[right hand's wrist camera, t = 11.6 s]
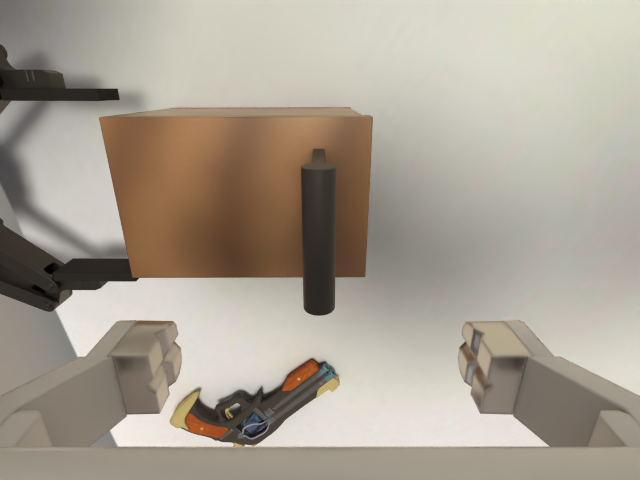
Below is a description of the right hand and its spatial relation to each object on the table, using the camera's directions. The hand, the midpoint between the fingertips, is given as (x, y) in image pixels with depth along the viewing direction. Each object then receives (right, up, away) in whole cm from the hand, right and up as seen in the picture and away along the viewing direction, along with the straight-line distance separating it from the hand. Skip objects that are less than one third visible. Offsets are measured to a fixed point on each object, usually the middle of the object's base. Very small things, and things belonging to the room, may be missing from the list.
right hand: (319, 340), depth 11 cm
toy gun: (-8, -15, +34) cm, 38 cm away
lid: (-5, +6, +14) cm, 16 cm away
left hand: (-15, +7, +18) cm, 24 cm away
